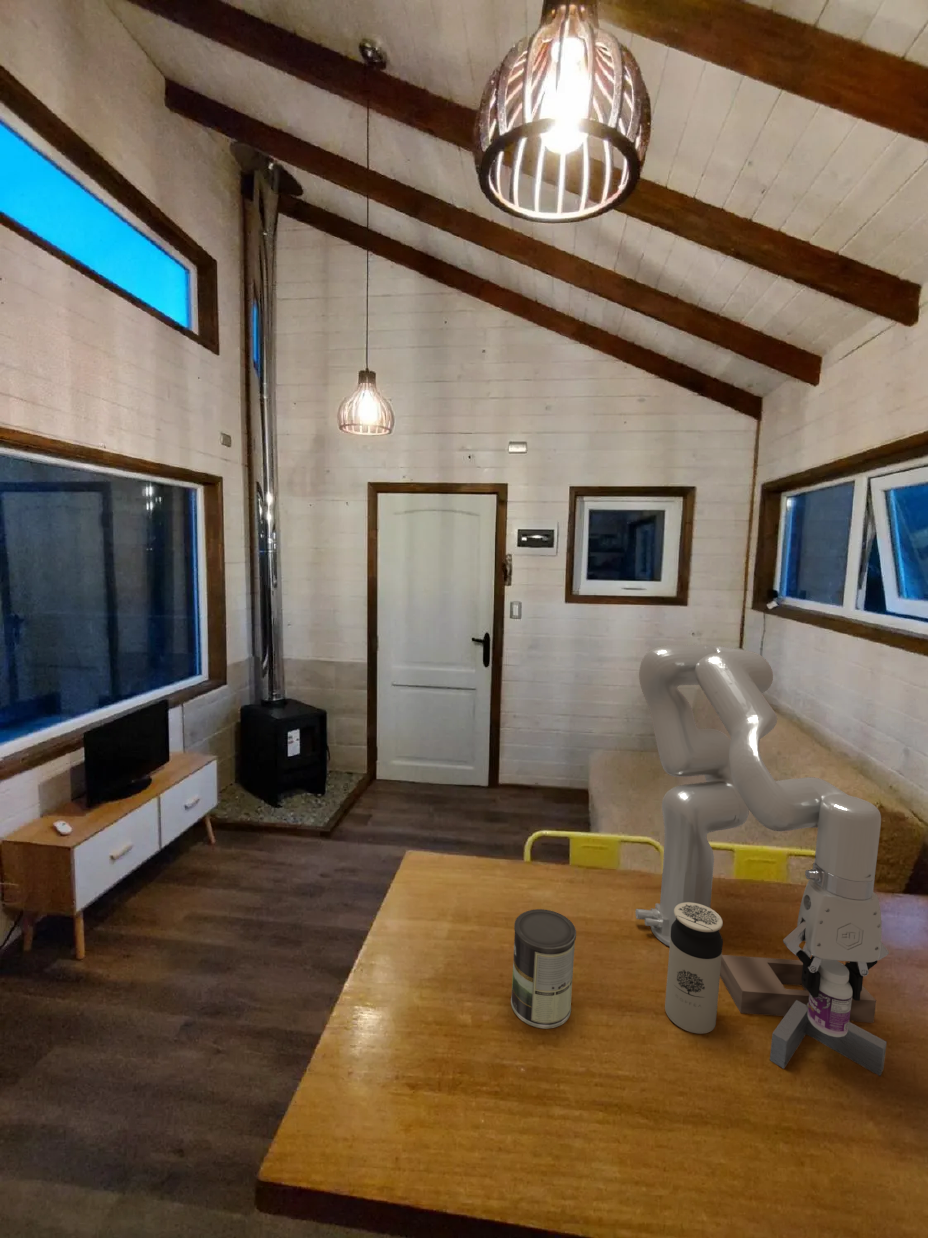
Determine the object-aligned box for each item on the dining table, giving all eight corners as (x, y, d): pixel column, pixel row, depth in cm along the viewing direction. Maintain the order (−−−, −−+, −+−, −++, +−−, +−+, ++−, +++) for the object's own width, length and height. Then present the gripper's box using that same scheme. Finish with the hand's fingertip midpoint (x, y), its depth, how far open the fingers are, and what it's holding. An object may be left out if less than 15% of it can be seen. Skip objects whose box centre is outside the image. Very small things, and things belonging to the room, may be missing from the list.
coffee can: (501, 1014, 94) (505, 935, 93) (522, 975, 103) (526, 902, 102) (561, 1039, 90) (566, 956, 88) (578, 996, 99) (583, 920, 98)
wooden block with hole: (740, 1013, 96) (742, 991, 96) (719, 975, 105) (721, 955, 105) (873, 1022, 95) (876, 1000, 95) (840, 983, 104) (843, 963, 104)
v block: (774, 1068, 86) (777, 1041, 85) (748, 1021, 95) (750, 996, 94) (889, 1077, 85) (893, 1049, 85) (852, 1029, 94) (855, 1004, 93)
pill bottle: (798, 1011, 90) (804, 954, 89) (830, 1010, 90) (836, 953, 89) (823, 1040, 84) (829, 979, 83) (856, 1038, 85) (863, 978, 84)
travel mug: (677, 991, 101) (685, 895, 99) (723, 1017, 95) (732, 916, 94) (656, 1014, 95) (664, 913, 94) (703, 1044, 90) (712, 937, 88)
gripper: (797, 890, 81) (785, 1007, 83) (920, 898, 81) (906, 1016, 82) (771, 863, 89) (761, 971, 91) (884, 870, 88) (871, 978, 90)
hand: (830, 991), depth 87 cm, fingers closed on pill bottle, 5 cm apart
